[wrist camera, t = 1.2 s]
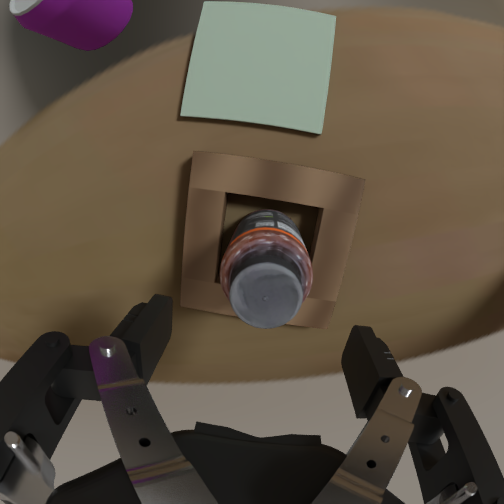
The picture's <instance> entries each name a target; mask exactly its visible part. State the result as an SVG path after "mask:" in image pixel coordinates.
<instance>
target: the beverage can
mask: <svg viewBox="0 0 504 504" xmlns="http://www.w3.org/2000/svg"><path fill="white" fill-rule="evenodd" d="M9 9H10V12H11V13H12V14H13V15H14V16H15V18H16V19H17V20H18V21H19V22H20V24H21V25H22V26H23V27H24V28H26V29H29V30H32V31H34V32H37V33H40V34H42V35H45V36H48V37H50V38H53V39H55V40H58V41H60V42H63V43H65V44H67V45H70V46H72V47H74V48H78V49H82V50H86V51H89V50H96V49H98V48H100V47H103V46H105V45H107V44H108V43H109V42H111V41H112V40H113V39H115V38H116V37H117V36H118V35H119V34H120V32H122V31H123V29H124V28H125V26H126V25H127V23H128V22H129V20H130V17H131V14H132V12H133V3H132V1H131V0H10V4H9Z"/></svg>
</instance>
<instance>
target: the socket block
mask: <svg viewBox="0 0 504 504" xmlns="http://www.w3.org/2000/svg"><path fill="white" fill-rule="evenodd" d="M364 185H365V179H361V178H357V177H353V176H348V175H344V174H339V173H335V172H330V171H325V170H320V169H315V168H310V167H305V166H300V165H294V164H288V163H283V162H277V161H270V160H264V159H257V158H250V157H243V156H236V155H228V154H220V153H211V152H202V151H193V158H192V166H191V174H190V183H189V192H188V201H187V212H186V222H185V234H184V247H183V261H182V277H181V297H180V306H182V307H187V308H192V309H197V310H202V311H208V312H213V313H219V314H225V315H231V316H236V317H238V316H237V315H236V314H235V312H234V311H233V309H232V307H231V304H230V302H229V300H228V299H227V298H226V296H225V294H224V292H223V290H222V287H221V283H220V275H219V274H218V270H219V262H220V253H221V245H222V236H223V228H224V220H225V213H226V205H227V197H228V192H229V193H236V194H243V195H250V196H256V197H262V198H269V199H275V200H281V201H287V202H293V203H298V204H304V205H309V206H315V207H319V211H318V217H317V222H316V226H315V231H314V236H313V241H312V246H311V250H310V255H309V257H310V260H311V263H312V268H313V282H312V286H311V289H310V292H309V294H308V296H307V298H306V299H305V301H304V302H303V303H302V304H301V307H300V309H299V311H298V312H297V314H296V315H295V316H294V318H293V319H291V320H290V321H289V322H287V323H286V324H290V325H297V326H305V327H313V328H322V329H328V326H329V323H330V320H331V317H332V313H333V310H334V307H335V303H336V300H337V297H338V293H339V290H340V286H341V283H342V279H343V275H344V272H345V268H346V264H347V260H348V256H349V252H350V248H351V244H352V240H353V236H354V232H355V227H356V223H357V219H358V214H359V209H360V205H361V200H362V195H363V190H364Z"/></svg>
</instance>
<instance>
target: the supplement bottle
mask: <svg viewBox="0 0 504 504" xmlns="http://www.w3.org/2000/svg"><path fill="white" fill-rule="evenodd" d="M312 282H313V268H312V263H311V260H310V257H309V254H308V252H307V249H306V247H305V245H304V242H303V240H302V237H301V235H300V233H299V230H298V228H297V226H296V225H295V224H294V222H293V221H292V220H291V219H290V218H289V217H288V216H287V215H285V214H283V213H282V212H279V211H277V210H272V209H261V210H257V211H254V212H252V213H250V214H248V215H247V216H246V217H244V218H243V219H242V220H241V222H240V223H239V224H238V226H237V228H236V230H235V231H234V233H233V236H232V238H231V240H230V242H229V245H228V247H227V249H226V251H225V254H224V256H223V259H222V262H221V266H220V283H221V287H222V290H223V292H224V294H225V296H226V298H227V299H228V300H229V302H230V304H231V307H232V309H233V311H234V312H235V314H236V315H237V316H238V317H239V318H240V319H241V320H242V321H244V322H245V323H247V324H249V325H251V326H253V327H257V328H265V329H267V328H275V327H279V326H281V325H284V324H286V323H287V322H289V321H290V320H291V319H293V318H294V316H295V315H296V314H297V312H298V311H299V309H300V307H301V304H302V303H303V302H304V301H305V299H306V298H307V296H308V294H309V292H310V289H311V286H312Z"/></svg>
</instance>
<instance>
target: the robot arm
mask: <svg viewBox="0 0 504 504" xmlns="http://www.w3.org/2000/svg"><path fill="white" fill-rule="evenodd" d="M172 303H173V301H172V297H168V296H164V295H159V294H154V296H153V297H152V298H151V300H150V301H149V302H148V303H143V302H142V303H140V304H138V305H136V306H134V307H133V308H132V309H131V310H130V311H129V313H128V315H126V316H125V318H124V320H122V321H121V323H120V324H119V325H118V326H117V327H116V329H115V330H114V331H113V333H112V334H111V335H110V336H104V337H100V338H97V339H95V340H93V341H92V342H91V344H90V346H78V345H70V340H69V338H68V336H67V335H66V334H64V333H62V332H55V331H53V332H48V333H45V334H43V335H41V336H40V337H39V338H38V339H37V340H36V341H35V342H34V344H33V345H32V346H31V347H30V348H29V349H28V350H27V351H26V352H25V353H24V355H23V356H22V357H21V358H20V359H19V360H18V361H17V363H16V364H15V365H14V366H13V367H12V368H11V370H10V371H9V372H8V373H7V374H6V376H5V377H4V378H3V379H2V380H1V382H0V499H1V500H2V501H3V502H4V503H5V504H405V503H403V502H402V501H401V500H400V499H398V498H397V497H396V496H395V495H394V494H392V493H391V492H390V491H388V490H387V489H386V488H387V486H388V484H389V482H390V480H391V478H392V476H393V474H394V472H395V470H396V468H397V466H398V464H399V461H400V459H401V457H402V455H403V452H404V450H405V448H406V445H407V443H408V444H409V448H410V451H411V455H412V458H413V462H414V465H415V469H416V472H417V476H418V480H419V484H420V488H421V492H422V496H423V500H424V504H504V478H503V475H502V473H501V471H500V468H499V466H498V464H497V461H496V459H495V457H494V455H493V453H492V450H491V448H490V446H489V444H488V442H487V440H486V438H485V436H484V434H483V432H482V430H481V428H480V426H479V424H478V422H477V420H476V418H475V416H474V414H473V412H472V411H471V409H470V407H469V405H468V403H467V401H466V400H465V398H464V396H463V395H462V394H461V393H460V392H459V391H458V390H456V389H454V388H451V387H443V388H441V389H440V391H439V392H438V394H437V395H436V396H435V395H430V394H425V393H422V390H421V388H420V386H419V385H418V384H417V383H416V382H415V381H413V380H411V379H409V378H405V377H403V375H402V373H401V371H400V369H399V367H398V365H397V363H396V361H395V360H394V358H393V356H392V354H390V350H389V348H388V346H387V345H386V344H385V343H384V342H383V341H382V340H381V339H380V338H376V336H375V334H374V332H373V330H372V328H371V327H368V326H358V325H355V326H353V328H352V330H351V333H350V335H349V338H348V341H347V343H346V346H345V349H344V351H343V354H342V360H341V364H342V368H343V372H344V375H345V378H346V382H347V385H348V389H349V392H350V396H351V399H352V403H353V407H354V410H355V414H356V418H367V420H368V422H367V423H366V425H365V427H364V428H363V430H362V431H361V433H360V434H359V436H358V437H357V439H356V440H355V442H354V443H353V445H352V447H351V448H350V449H349V451H348V452H347V454H344V453H343V452H341V451H339V450H337V449H335V448H333V447H330V446H327V445H324V444H321V438H320V436H319V435H296V434H289V435H281V436H274V437H264V438H259V437H255V436H252V435H248V434H246V433H242V432H240V431H236V430H234V429H231V428H228V427H223V426H217V425H212V424H206V423H201V422H196V426H195V429H194V430H181V431H176V432H173V433H170V431H169V430H168V428H167V427H166V424H165V423H164V420H163V418H162V416H161V414H160V413H159V411H158V409H157V407H156V405H155V403H154V400H153V399H152V396H151V394H150V392H149V390H148V388H147V384H148V382H149V380H150V378H151V376H152V374H153V372H154V370H155V368H156V366H157V364H158V362H159V360H160V358H161V356H162V354H163V352H164V350H165V348H166V346H167V344H168V342H169V339H170V336H171V332H172ZM82 399H85V400H96V401H102V404H103V408H104V411H105V414H106V417H107V421H108V423H109V426H110V429H111V432H112V435H113V438H114V441H115V443H116V446H117V449H118V451H119V454H120V457H121V458H119V459H118V460H115V461H114V462H111V463H109V464H107V465H105V466H103V467H101V468H99V469H97V470H94V471H92V472H90V473H87V474H85V475H83V476H81V477H78V478H76V479H74V480H71V481H69V482H66V483H64V484H62V485H60V486H59V487H57V488H56V489H54V479H55V468H54V466H53V464H52V462H51V461H50V459H51V457H52V455H53V453H54V451H55V449H56V447H57V445H58V443H59V441H60V439H61V437H62V435H63V433H64V431H65V429H66V428H67V426H68V424H69V422H70V420H71V418H72V416H73V415H74V413H75V411H76V409H77V407H78V406H79V404H80V402H81V400H82ZM443 433H445V436H446V438H447V440H448V445H449V446H448V451H447V453H445V451H444V448H443V445H442V443H441V440H440V437H441V436H442V434H443Z"/></svg>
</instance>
